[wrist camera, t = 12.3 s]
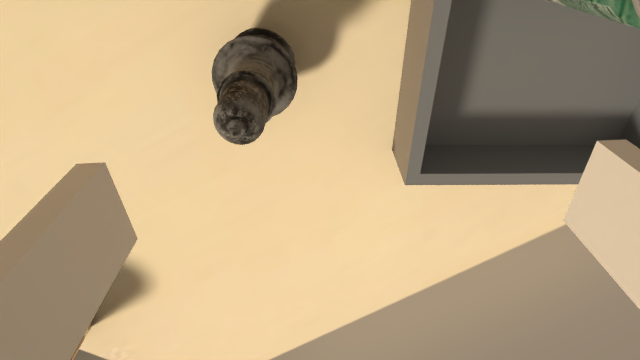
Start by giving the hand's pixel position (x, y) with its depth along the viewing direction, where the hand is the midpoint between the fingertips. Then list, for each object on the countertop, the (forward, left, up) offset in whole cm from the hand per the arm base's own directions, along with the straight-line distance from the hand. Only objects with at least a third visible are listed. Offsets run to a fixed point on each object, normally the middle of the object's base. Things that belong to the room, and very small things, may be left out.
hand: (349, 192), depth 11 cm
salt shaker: (+2, -5, -21) cm, 21 cm away
